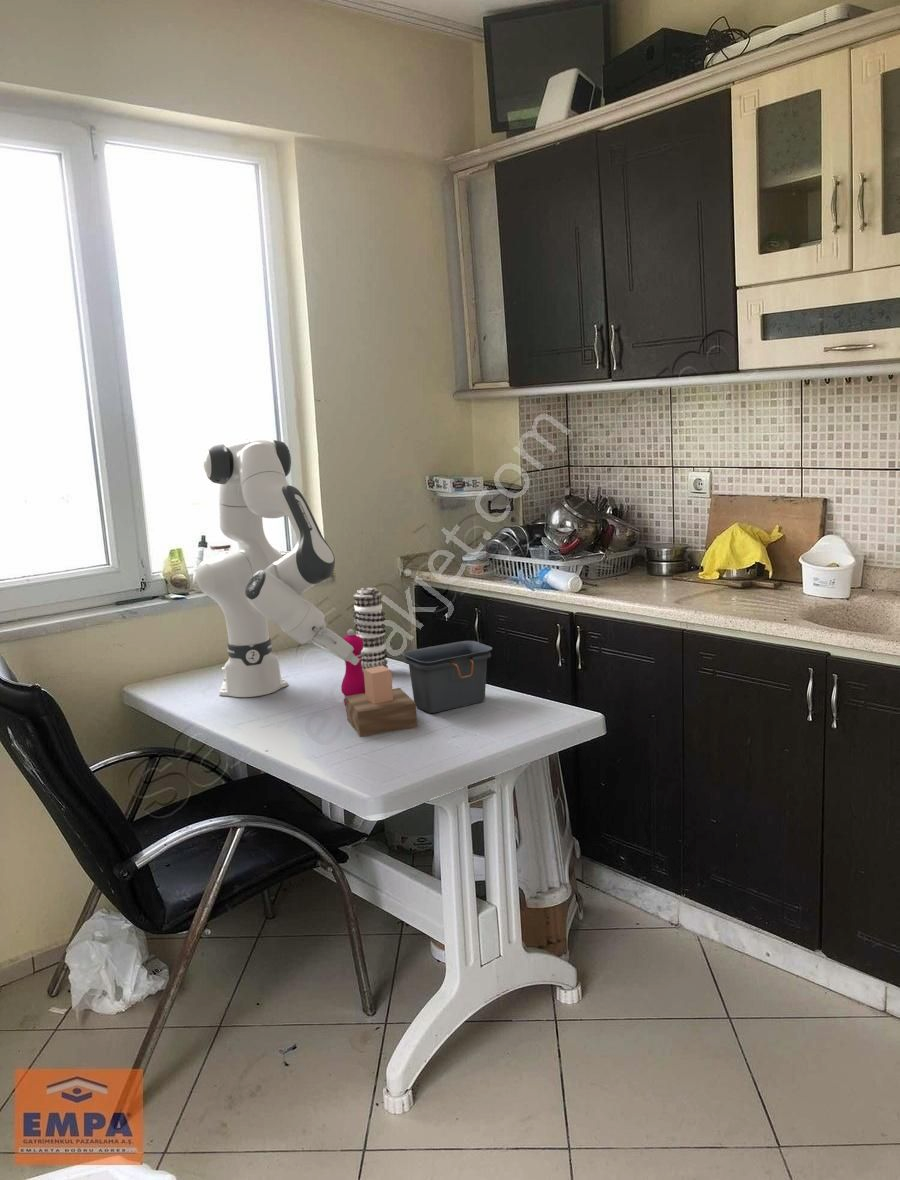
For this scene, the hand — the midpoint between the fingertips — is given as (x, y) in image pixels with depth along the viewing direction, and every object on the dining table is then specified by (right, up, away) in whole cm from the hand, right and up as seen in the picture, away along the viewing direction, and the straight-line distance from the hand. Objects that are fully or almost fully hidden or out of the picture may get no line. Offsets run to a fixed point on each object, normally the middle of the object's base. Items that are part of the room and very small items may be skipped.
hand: (348, 658), depth 224 cm
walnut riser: (+7, -16, +6) cm, 19 cm away
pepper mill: (0, -14, +23) cm, 27 cm away
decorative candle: (+2, -8, +50) cm, 51 cm away
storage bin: (+25, -13, +17) cm, 33 cm away
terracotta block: (+7, -10, +5) cm, 14 cm away
